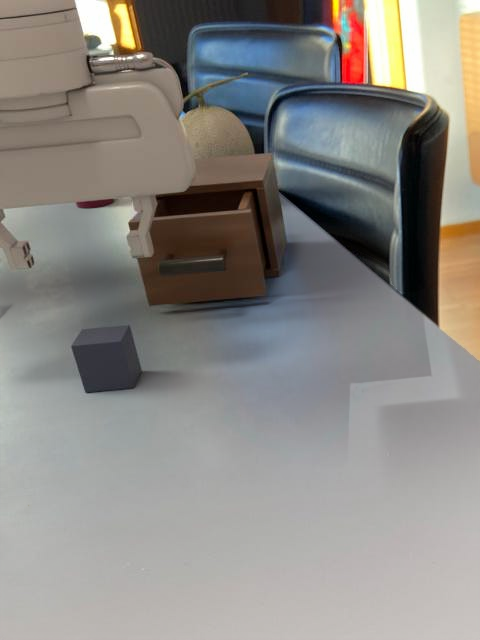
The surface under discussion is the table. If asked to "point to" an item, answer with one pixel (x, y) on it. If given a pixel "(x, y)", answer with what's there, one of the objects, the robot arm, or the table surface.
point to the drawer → (204, 248)
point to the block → (106, 358)
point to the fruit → (215, 128)
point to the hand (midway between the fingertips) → (83, 261)
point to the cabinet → (243, 176)
